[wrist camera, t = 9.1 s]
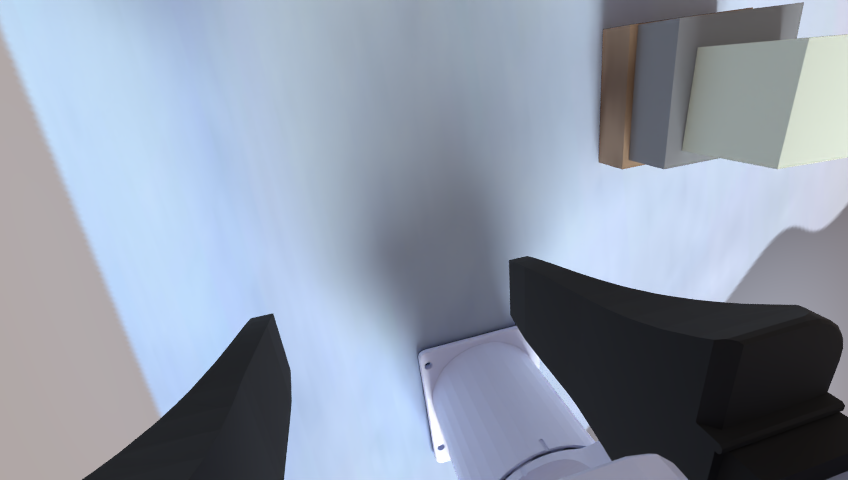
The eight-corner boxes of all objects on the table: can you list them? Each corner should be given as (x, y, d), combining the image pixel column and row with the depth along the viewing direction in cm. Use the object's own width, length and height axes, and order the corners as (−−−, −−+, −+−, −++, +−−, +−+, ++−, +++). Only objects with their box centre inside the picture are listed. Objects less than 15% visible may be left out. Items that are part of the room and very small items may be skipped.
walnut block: (694, 140, 26) (731, 146, 24) (594, 160, 25) (622, 169, 22) (710, 14, 23) (752, 7, 21) (597, 30, 22) (630, 24, 20)
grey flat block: (729, 140, 23) (774, 147, 21) (628, 160, 22) (664, 168, 20) (751, 10, 21) (803, 2, 19) (638, 24, 20) (680, 18, 18)
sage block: (758, 139, 21) (867, 154, 17) (681, 150, 20) (777, 169, 16) (780, 40, 19) (907, 29, 15) (697, 47, 18) (809, 38, 14)
